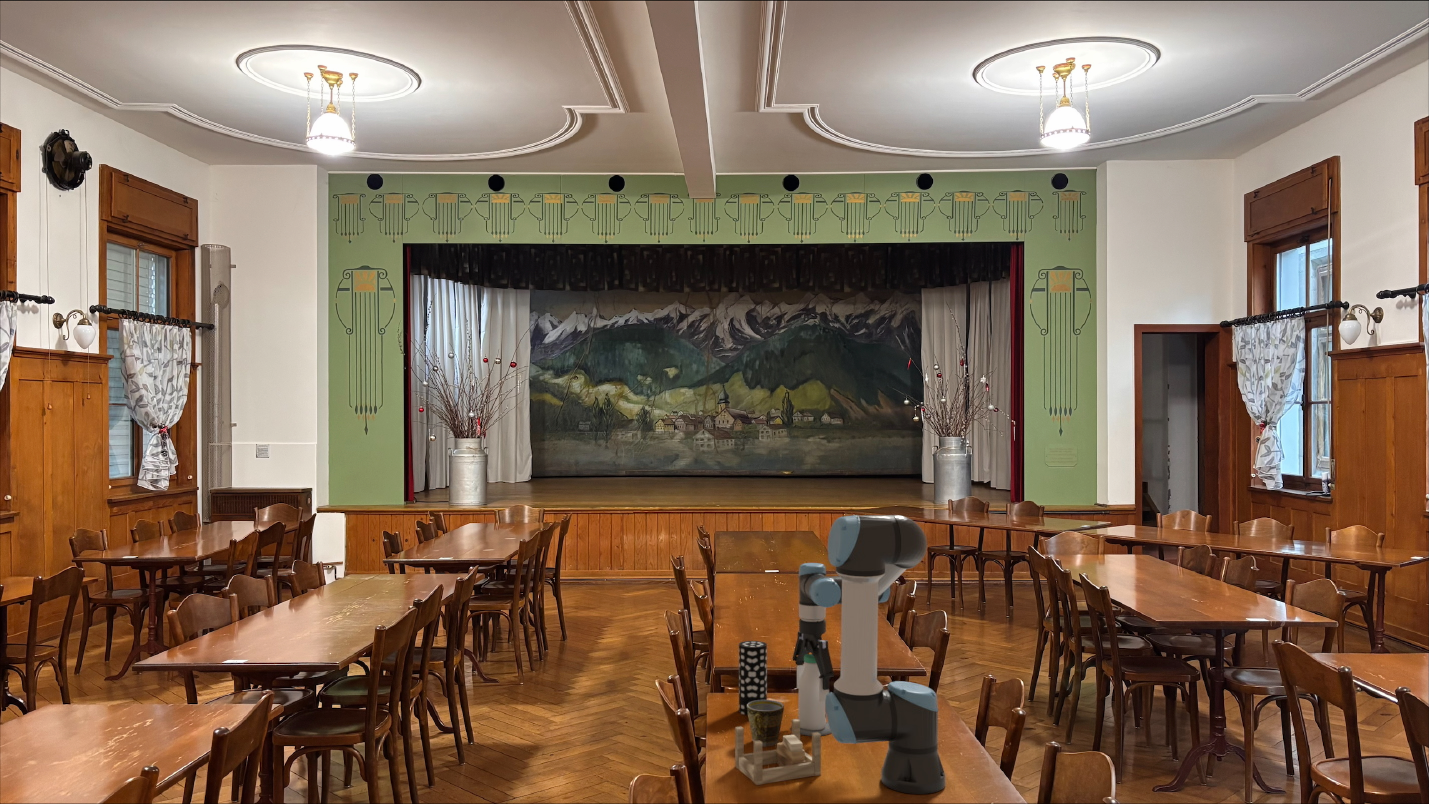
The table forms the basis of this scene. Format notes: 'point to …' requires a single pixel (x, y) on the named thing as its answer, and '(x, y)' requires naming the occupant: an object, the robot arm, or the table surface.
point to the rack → (775, 759)
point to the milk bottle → (811, 697)
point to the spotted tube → (752, 673)
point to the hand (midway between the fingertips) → (812, 694)
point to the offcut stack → (790, 751)
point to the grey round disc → (822, 732)
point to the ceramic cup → (765, 720)
